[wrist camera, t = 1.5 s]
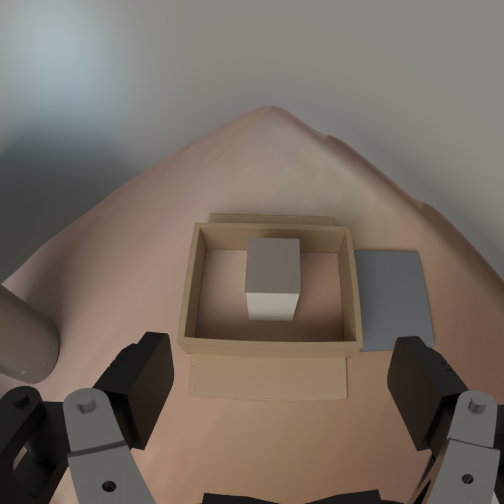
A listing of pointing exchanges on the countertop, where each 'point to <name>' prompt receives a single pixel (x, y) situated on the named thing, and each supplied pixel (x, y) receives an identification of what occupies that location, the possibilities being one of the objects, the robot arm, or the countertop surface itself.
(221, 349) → the carton
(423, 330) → the slate mat
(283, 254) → the tea box
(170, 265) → the countertop surface
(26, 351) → the robot arm
